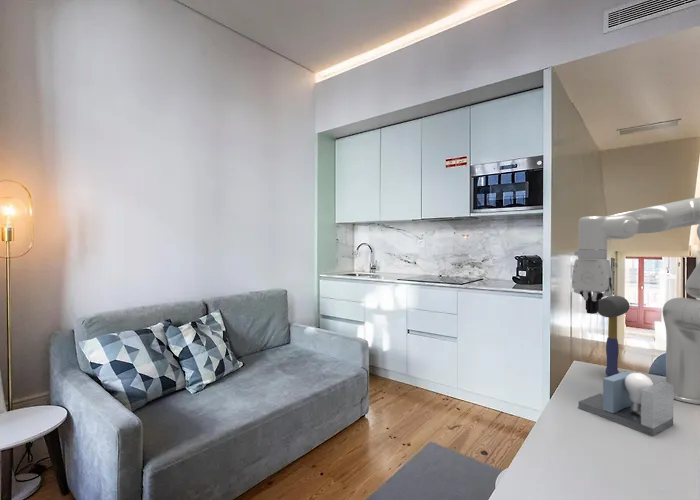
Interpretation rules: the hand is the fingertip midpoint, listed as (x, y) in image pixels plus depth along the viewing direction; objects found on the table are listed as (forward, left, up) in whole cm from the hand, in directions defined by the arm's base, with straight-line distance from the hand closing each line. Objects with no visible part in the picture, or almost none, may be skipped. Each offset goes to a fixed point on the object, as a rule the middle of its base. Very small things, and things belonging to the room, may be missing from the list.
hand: (591, 313), depth 112 cm
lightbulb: (+4, +13, -25) cm, 29 cm away
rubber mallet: (-26, -6, -27) cm, 38 cm away
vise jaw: (+5, +10, -25) cm, 27 cm away
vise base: (+5, +11, -27) cm, 30 cm away
